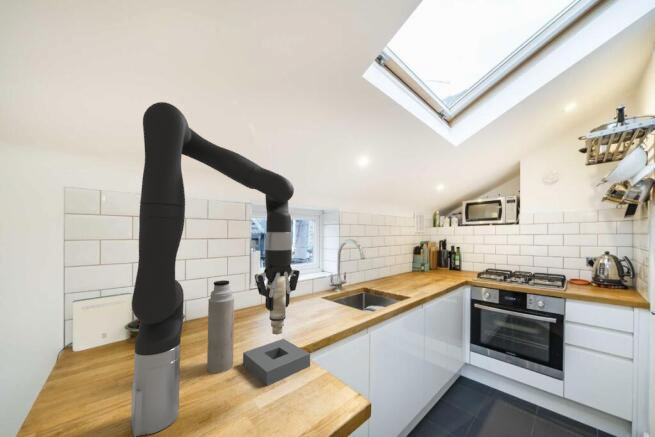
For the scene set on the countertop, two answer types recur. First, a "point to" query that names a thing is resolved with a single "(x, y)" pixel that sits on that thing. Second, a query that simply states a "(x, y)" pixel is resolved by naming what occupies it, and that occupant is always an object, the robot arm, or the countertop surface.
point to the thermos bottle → (220, 328)
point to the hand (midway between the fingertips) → (277, 308)
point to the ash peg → (278, 306)
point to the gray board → (275, 361)
